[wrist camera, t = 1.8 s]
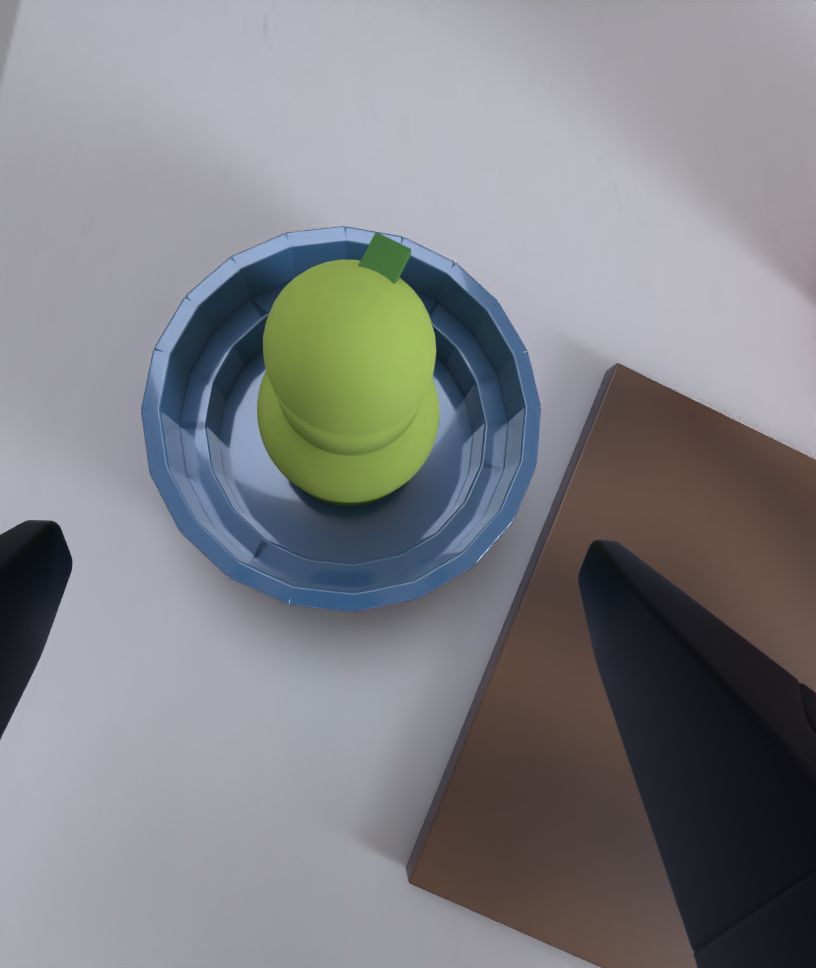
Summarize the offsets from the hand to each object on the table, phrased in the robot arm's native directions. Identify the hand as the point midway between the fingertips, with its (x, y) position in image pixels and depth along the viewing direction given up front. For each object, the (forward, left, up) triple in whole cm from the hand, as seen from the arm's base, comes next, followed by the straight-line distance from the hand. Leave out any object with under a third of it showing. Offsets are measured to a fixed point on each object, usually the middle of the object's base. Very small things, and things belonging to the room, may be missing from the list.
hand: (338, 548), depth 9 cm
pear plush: (+4, +2, -12) cm, 13 cm away
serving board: (+1, -15, -12) cm, 20 cm away
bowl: (+4, +2, -12) cm, 13 cm away
